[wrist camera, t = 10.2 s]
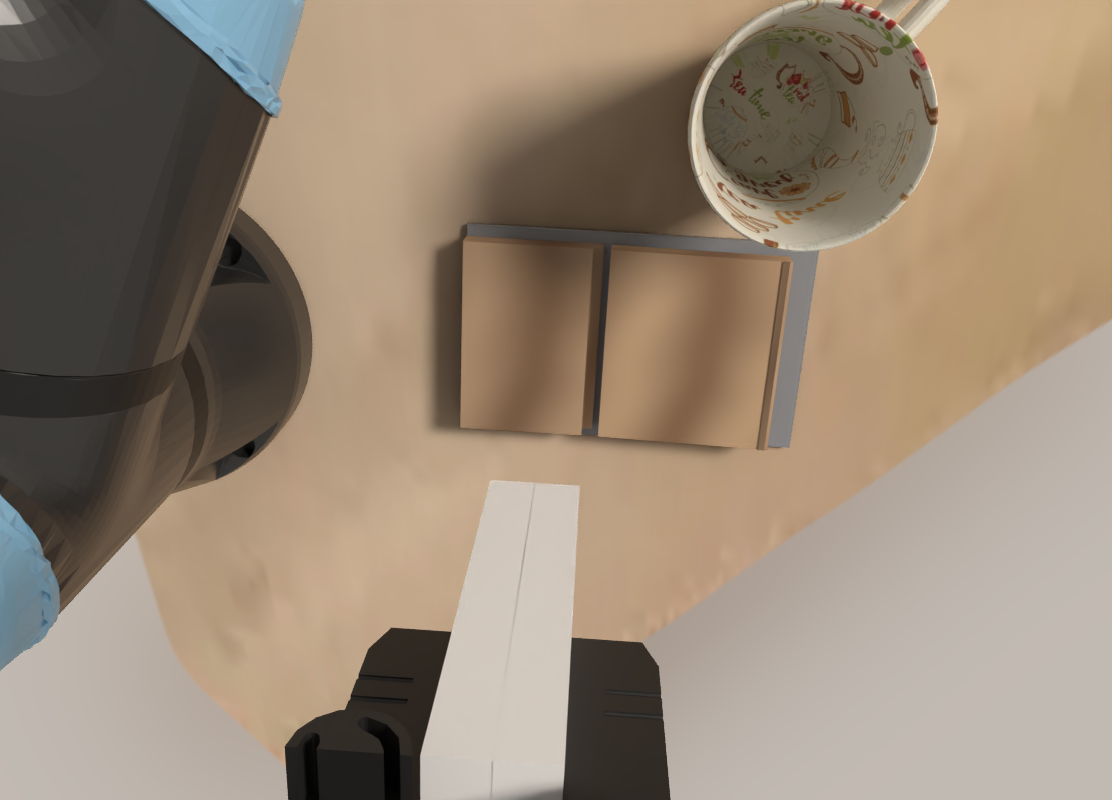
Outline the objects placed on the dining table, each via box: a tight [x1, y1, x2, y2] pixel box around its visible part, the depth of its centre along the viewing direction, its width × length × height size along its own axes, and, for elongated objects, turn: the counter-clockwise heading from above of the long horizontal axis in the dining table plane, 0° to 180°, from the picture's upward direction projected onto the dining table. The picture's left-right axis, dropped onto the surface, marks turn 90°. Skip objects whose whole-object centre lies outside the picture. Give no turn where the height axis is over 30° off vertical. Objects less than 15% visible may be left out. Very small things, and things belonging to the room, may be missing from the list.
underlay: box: [467, 223, 819, 448], centre depth 45 cm, size 16×10×1 cm, turn 87°
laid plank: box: [460, 236, 604, 435], centre depth 45 cm, size 6×9×1 cm
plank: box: [598, 245, 794, 450], centre depth 44 cm, size 8×9×1 cm
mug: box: [688, 0, 950, 252], centre depth 36 cm, size 8×13×10 cm, turn 138°
